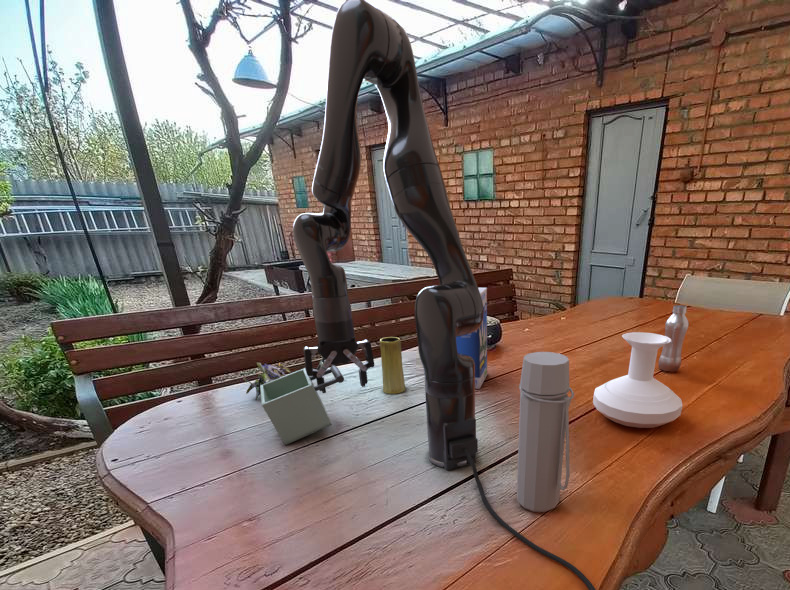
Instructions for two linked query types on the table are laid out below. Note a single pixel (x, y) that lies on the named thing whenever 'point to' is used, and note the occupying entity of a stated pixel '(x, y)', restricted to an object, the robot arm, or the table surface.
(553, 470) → the water bottle
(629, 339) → the white flared vase
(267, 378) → the passion flower
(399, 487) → the table surface
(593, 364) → the table surface
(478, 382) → the string lights box
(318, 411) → the pale green open box
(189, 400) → the table surface
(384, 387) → the vase
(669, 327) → the plastic bottle
